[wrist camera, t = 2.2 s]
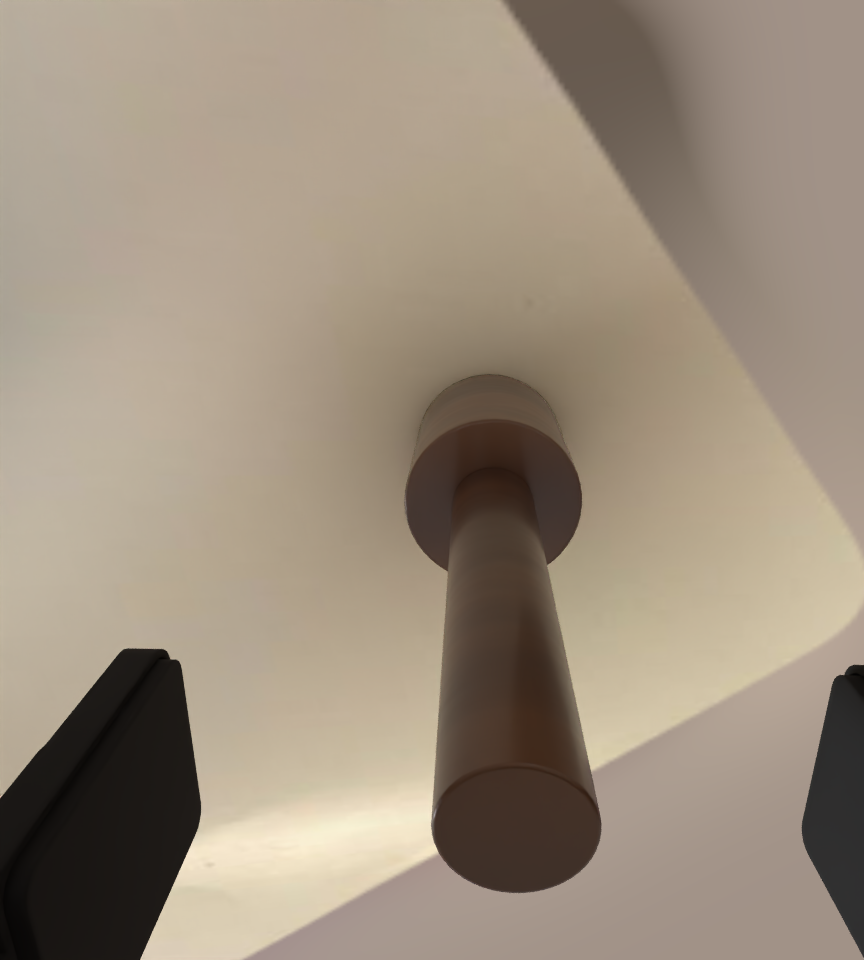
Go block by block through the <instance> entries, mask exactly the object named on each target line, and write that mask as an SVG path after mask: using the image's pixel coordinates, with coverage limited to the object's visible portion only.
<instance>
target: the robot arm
mask: <svg viewBox="0 0 864 960" xmlns="http://www.w3.org/2000/svg"><path fill="white" fill-rule="evenodd" d="M200 816H201V800H200V793H199V786H198V779H197V772H196V765H195V758H194V751H193V744H192V737H191V731H190V724H189V717H188V710H187V703H186V696H185V689H184V682H183V675H182V668H181V664H180V663H179V661H178V660H170V657H169V654H168V653H167V651H165V650H164V649H129V648H128V649H123V650H122V651H121V652H120V653H119V654H118V655H117V657H116V658H115V659H114V660H113V662H112V663H111V664H110V665H109V667H108V668H107V669H106V670H105V672H104V673H103V674H102V675H101V677H100V678H99V679H98V680H97V682H96V683H95V684H94V685H93V687H92V688H91V689H90V690H89V691H88V693H87V694H86V695H85V696H84V698H83V699H82V700H81V701H80V703H79V704H78V705H77V706H76V708H75V709H74V710H73V711H72V713H71V714H70V715H69V716H68V718H67V719H66V720H65V721H64V723H63V724H62V725H61V726H60V727H59V729H58V730H57V731H56V732H55V734H54V735H53V736H52V737H51V739H50V740H49V741H48V742H47V744H46V745H45V746H44V747H42V748H41V749H40V750H39V751H38V752H37V754H36V755H35V756H34V757H33V759H32V760H31V761H30V762H29V764H28V765H27V766H26V767H25V769H24V770H23V771H22V772H21V773H20V775H19V776H18V777H17V778H16V780H15V781H14V782H13V783H12V785H11V786H10V787H9V788H8V790H7V791H6V792H5V793H4V795H3V796H2V797H1V798H0V960H140V958H141V956H142V954H143V952H144V949H145V947H146V945H147V943H148V940H149V938H150V936H151V934H152V931H153V929H154V927H155V925H156V922H157V920H158V918H159V916H160V913H161V911H162V909H163V907H164V904H165V902H166V900H167V898H168V895H169V893H170V891H171V888H172V886H173V884H174V882H175V879H176V877H177V875H178V873H179V870H180V868H181V866H182V864H183V861H184V859H185V857H186V855H187V852H188V850H189V848H190V846H191V843H192V841H193V839H194V837H195V834H196V832H197V829H198V826H199V822H200ZM802 836H803V842H804V845H805V848H806V850H807V853H808V855H809V857H810V859H811V861H812V862H813V864H814V866H815V868H816V870H817V871H818V873H819V875H820V877H821V879H822V881H823V883H824V884H825V887H826V888H827V890H828V892H829V894H830V896H831V898H832V900H833V901H834V903H835V905H836V907H837V909H838V911H839V913H840V914H841V916H842V918H843V920H844V922H845V924H846V925H847V927H848V929H849V931H850V933H851V935H852V937H853V938H854V940H855V942H856V944H857V946H858V948H859V950H860V952H861V953H862V955H863V957H864V665H853V666H850V667H849V668H848V669H847V670H846V672H845V675H839V676H837V677H836V678H835V679H834V681H833V684H832V688H831V693H830V698H829V702H828V707H827V711H826V716H825V720H824V725H823V730H822V734H821V739H820V744H819V748H818V752H817V757H816V762H815V766H814V771H813V775H812V780H811V784H810V789H809V794H808V798H807V803H806V808H805V812H804V816H803V821H802Z"/></svg>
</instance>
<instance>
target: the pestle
mask: <svg viewBox="0 0 864 960" xmlns="http://www.w3.org/2000/svg"><path fill="white" fill-rule="evenodd" d="M404 503H405V514H406V518H407V522H408V525H409V528H410V530H411V533H412V535H413V537H414V539H415V540H416V542H417V544H418V545H419V546H420V548H421V549H422V550H423V552H424V553H425V554H426V555H427V556H428V557H429V558H430V559H431V560H432V561H434V562H435V563H436V564H437V565H439V566H440V567H442V568H443V569H445V570H447V571H448V579H447V594H446V609H445V624H444V639H443V654H442V670H441V685H440V700H439V715H438V730H437V745H436V760H435V776H434V791H433V806H432V821H431V829H432V836H433V840H434V843H435V845H436V847H437V850H438V852H439V854H440V855H441V857H442V858H443V860H444V861H445V862H446V863H447V865H448V866H449V867H450V868H451V869H452V870H454V871H455V872H456V873H457V874H458V875H460V876H461V877H463V878H464V879H466V880H468V881H470V882H472V883H474V884H476V885H478V886H481V887H484V888H487V889H491V890H495V891H501V892H509V893H526V892H535V891H540V890H545V889H548V888H551V887H554V886H557V885H559V884H561V883H563V882H565V881H567V880H569V879H571V878H572V877H573V876H575V875H576V874H577V873H579V872H580V871H581V870H582V869H583V868H584V867H585V866H586V865H587V864H588V863H589V861H590V860H591V859H592V857H593V855H594V853H595V852H596V849H597V846H598V844H599V841H600V835H601V818H600V813H599V808H598V803H597V798H596V794H595V790H594V784H593V780H592V775H591V770H590V765H589V761H588V756H587V751H586V747H585V742H584V737H583V732H582V728H581V723H580V718H579V713H578V709H577V704H576V699H575V695H574V690H573V685H572V680H571V676H570V671H569V666H568V661H567V657H566V652H565V647H564V643H563V638H562V633H561V628H560V624H559V619H558V614H557V610H556V605H555V600H554V595H553V591H552V586H551V581H550V576H549V572H548V567H547V565H548V564H550V563H551V562H552V561H553V560H554V559H555V558H556V557H558V556H559V555H560V554H561V552H562V551H563V550H564V549H565V548H566V546H567V545H568V543H569V542H570V540H571V539H572V537H573V535H574V533H575V531H576V528H577V526H578V523H579V519H580V516H581V509H582V491H581V484H580V480H579V477H578V473H577V471H576V468H575V466H574V463H573V461H572V458H571V456H570V453H569V451H568V448H567V446H566V443H565V441H564V438H563V436H562V433H561V431H560V428H559V426H558V423H557V421H556V419H555V416H554V414H553V412H552V410H551V408H550V407H549V405H548V404H547V402H546V401H545V400H544V399H543V398H542V396H541V395H539V394H538V393H537V392H536V391H535V390H534V389H532V388H531V387H529V386H528V385H526V384H524V383H522V382H520V381H518V380H515V379H513V378H510V377H505V376H500V375H479V376H474V377H470V378H467V379H464V380H461V381H459V382H457V383H455V384H453V385H451V386H450V387H448V388H447V389H445V390H444V391H443V392H442V393H441V394H439V395H438V396H437V398H436V399H435V400H434V401H433V402H432V403H431V405H430V406H429V408H428V409H427V411H426V413H425V415H424V417H423V420H422V423H421V425H420V429H419V433H418V438H417V442H416V446H415V450H414V454H413V459H412V463H411V467H410V471H409V475H408V480H407V484H406V490H405V502H404Z"/></svg>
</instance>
